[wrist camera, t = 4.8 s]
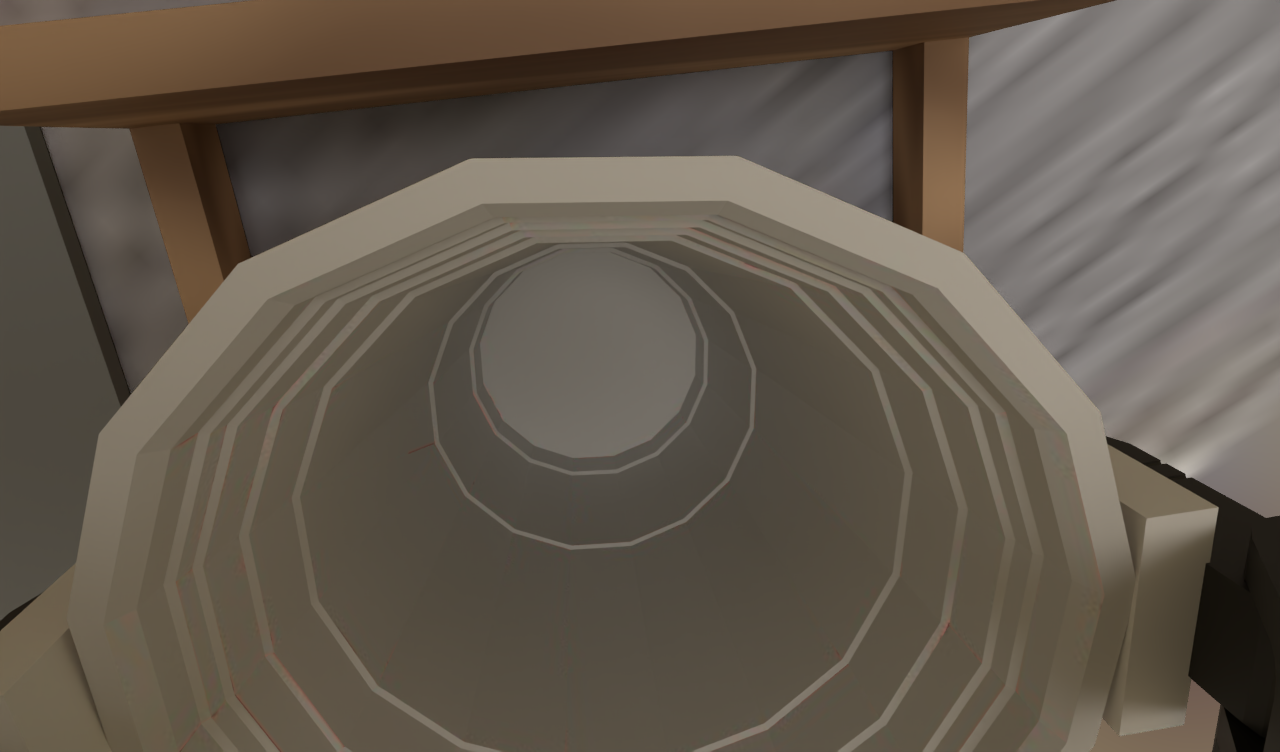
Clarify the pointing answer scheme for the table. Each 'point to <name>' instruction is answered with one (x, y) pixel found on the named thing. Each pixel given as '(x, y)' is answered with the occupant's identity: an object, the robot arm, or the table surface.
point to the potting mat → (45, 373)
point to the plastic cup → (604, 487)
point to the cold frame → (464, 79)
